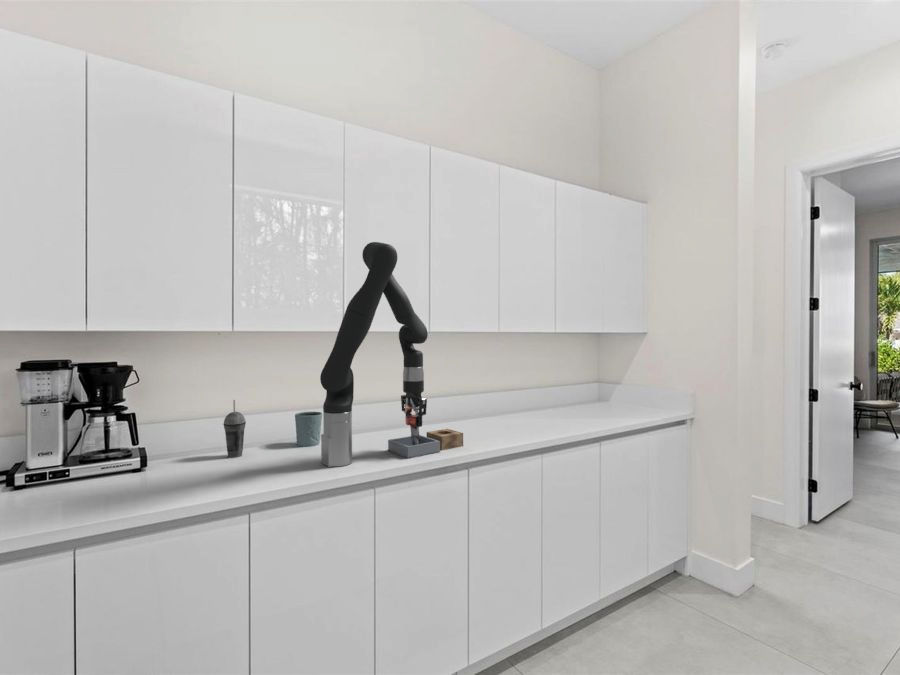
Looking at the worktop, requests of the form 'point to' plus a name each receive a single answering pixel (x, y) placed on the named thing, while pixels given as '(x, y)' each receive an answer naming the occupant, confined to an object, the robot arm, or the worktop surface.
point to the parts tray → (413, 446)
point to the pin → (413, 429)
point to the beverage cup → (234, 433)
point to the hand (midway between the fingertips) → (413, 425)
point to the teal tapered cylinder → (308, 428)
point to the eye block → (447, 438)
